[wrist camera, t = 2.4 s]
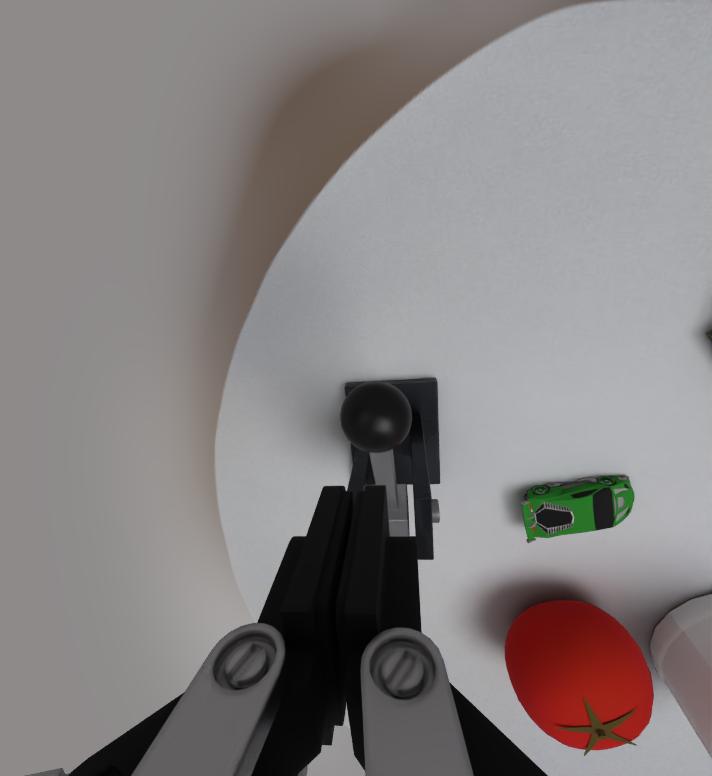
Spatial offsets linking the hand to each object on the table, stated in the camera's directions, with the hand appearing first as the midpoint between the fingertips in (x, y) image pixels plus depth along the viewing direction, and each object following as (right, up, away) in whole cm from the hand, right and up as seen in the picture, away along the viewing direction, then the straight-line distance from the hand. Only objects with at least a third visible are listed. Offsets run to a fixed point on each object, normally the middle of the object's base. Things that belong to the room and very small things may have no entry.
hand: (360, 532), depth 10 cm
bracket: (+3, 0, +26) cm, 26 cm away
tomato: (+21, -21, +31) cm, 43 cm away
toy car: (+20, -7, +26) cm, 34 cm away
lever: (+1, +1, +12) cm, 12 cm away
